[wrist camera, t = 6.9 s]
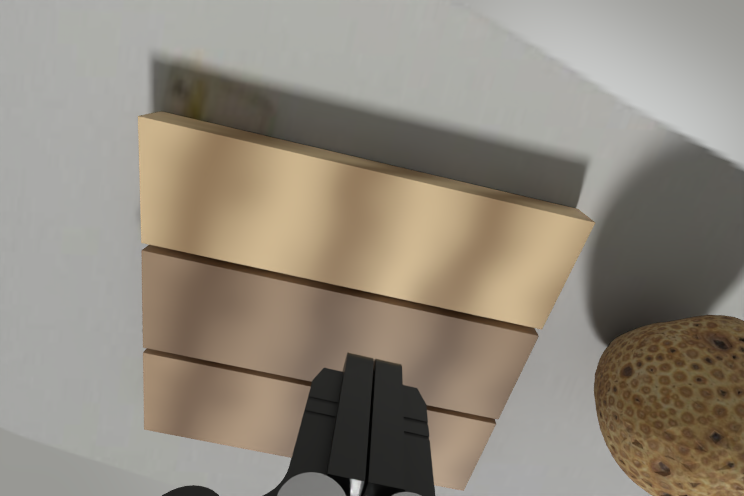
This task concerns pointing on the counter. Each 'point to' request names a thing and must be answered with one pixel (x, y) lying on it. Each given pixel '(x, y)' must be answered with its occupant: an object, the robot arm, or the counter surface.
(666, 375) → the natural sponge
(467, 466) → the laid floor
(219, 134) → the board
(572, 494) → the counter surface
